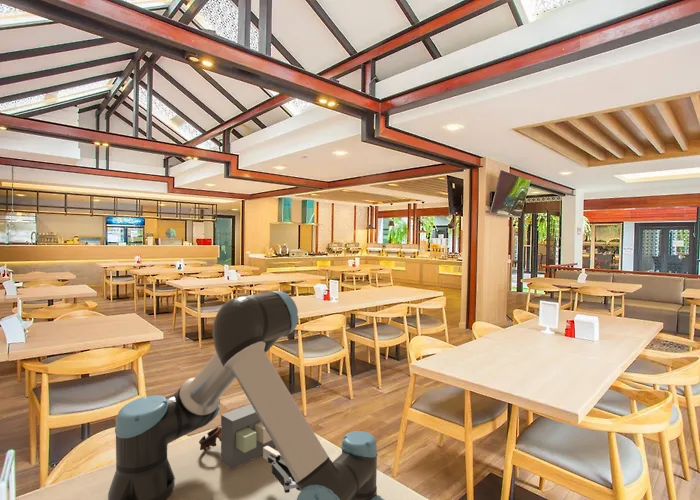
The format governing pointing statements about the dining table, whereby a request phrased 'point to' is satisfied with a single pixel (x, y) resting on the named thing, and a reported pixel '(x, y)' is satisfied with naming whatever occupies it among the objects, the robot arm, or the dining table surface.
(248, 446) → the sage button
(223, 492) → the dining table surface
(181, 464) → the dining table surface
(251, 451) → the console
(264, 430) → the ivory button
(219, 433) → the pottery mug
